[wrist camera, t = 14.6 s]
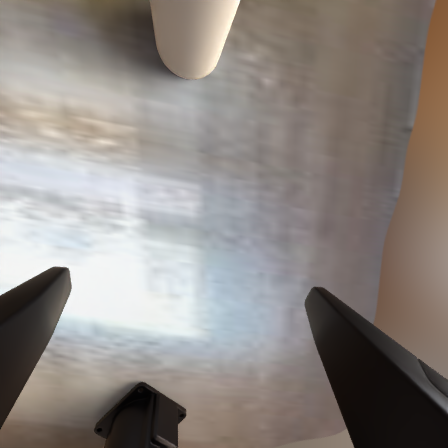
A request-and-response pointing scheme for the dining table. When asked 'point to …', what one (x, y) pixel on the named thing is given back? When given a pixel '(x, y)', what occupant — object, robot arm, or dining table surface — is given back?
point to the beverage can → (191, 33)
